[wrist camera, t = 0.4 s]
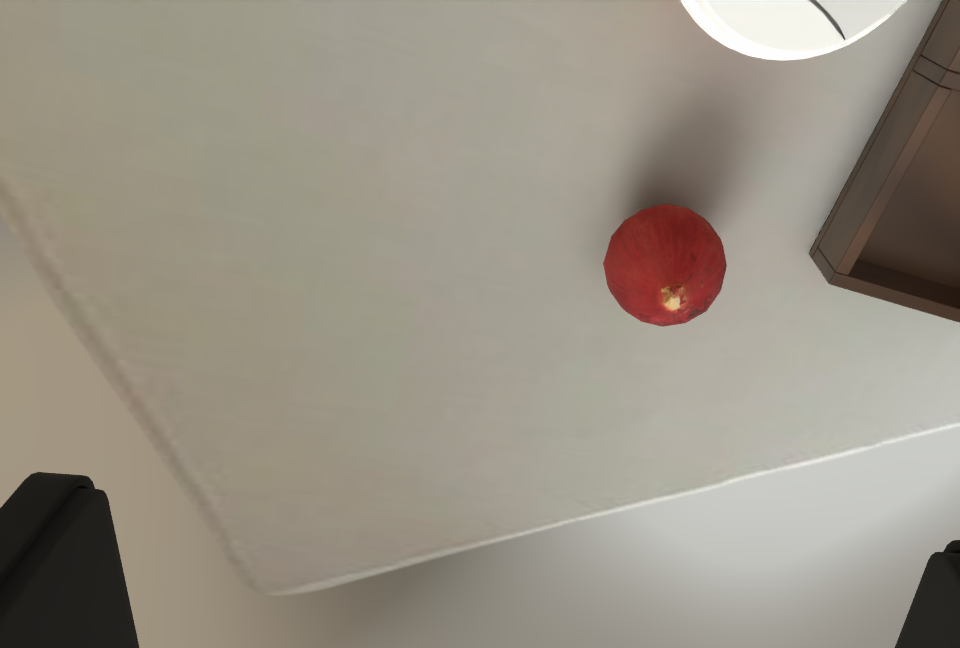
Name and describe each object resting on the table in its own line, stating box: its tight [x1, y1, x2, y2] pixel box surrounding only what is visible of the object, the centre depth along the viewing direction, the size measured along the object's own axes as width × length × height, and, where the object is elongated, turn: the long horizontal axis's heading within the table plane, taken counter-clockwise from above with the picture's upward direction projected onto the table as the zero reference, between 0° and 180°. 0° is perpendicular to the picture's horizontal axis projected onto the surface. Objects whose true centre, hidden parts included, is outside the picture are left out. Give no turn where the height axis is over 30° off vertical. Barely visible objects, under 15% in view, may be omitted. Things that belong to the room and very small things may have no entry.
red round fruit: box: [603, 204, 726, 326], centre depth 41 cm, size 6×6×8 cm
